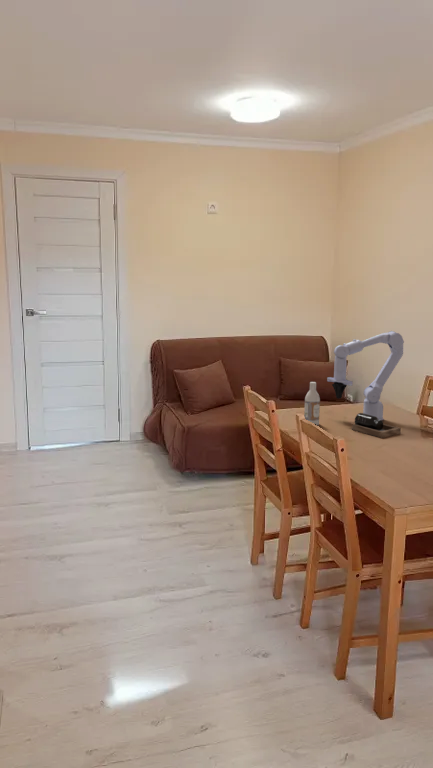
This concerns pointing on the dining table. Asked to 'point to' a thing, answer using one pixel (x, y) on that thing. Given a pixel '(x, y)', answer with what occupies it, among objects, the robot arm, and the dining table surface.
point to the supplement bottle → (368, 421)
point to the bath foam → (312, 405)
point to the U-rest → (384, 432)
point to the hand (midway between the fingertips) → (338, 398)
